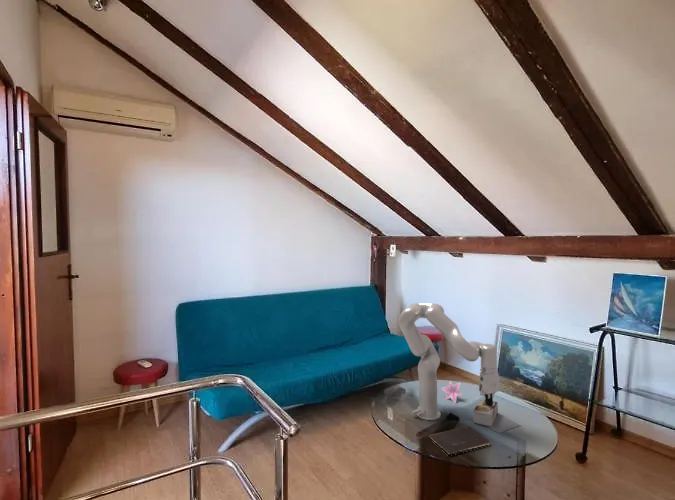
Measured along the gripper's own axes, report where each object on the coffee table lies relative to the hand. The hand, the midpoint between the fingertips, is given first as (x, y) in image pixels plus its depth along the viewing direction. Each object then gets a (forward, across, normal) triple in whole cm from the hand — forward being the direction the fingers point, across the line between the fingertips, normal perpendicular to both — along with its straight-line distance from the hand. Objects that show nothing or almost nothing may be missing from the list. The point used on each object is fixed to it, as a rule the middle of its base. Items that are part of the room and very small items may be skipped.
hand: (489, 405), depth 190 cm
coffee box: (+8, -3, +2) cm, 8 cm away
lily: (+11, +6, +32) cm, 35 cm away
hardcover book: (+12, -23, -3) cm, 26 cm away
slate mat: (+11, +7, 0) cm, 13 cm away
